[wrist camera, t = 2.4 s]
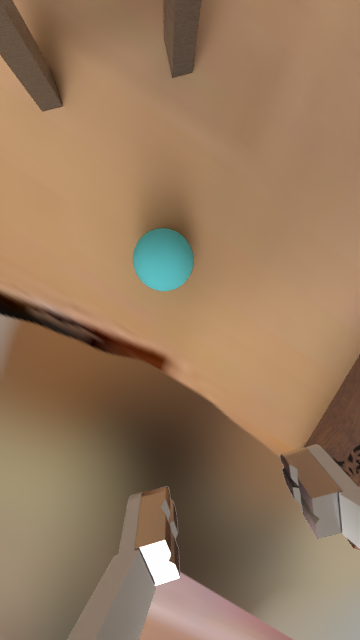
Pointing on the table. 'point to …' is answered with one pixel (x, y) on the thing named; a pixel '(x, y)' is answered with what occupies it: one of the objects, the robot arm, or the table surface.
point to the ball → (163, 259)
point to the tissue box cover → (343, 427)
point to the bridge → (35, 75)
